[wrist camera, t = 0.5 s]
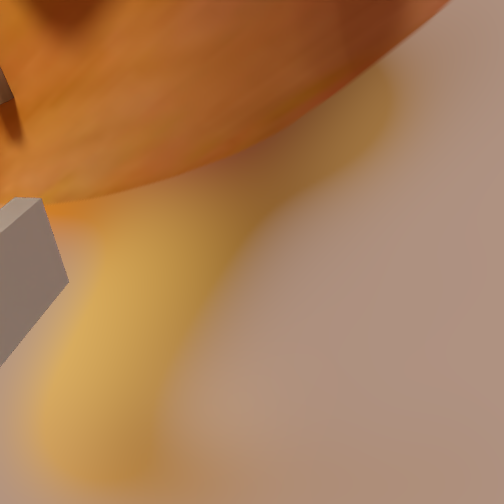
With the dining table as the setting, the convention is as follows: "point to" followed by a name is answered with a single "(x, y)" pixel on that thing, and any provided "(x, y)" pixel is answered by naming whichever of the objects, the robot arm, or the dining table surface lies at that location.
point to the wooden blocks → (4, 89)
